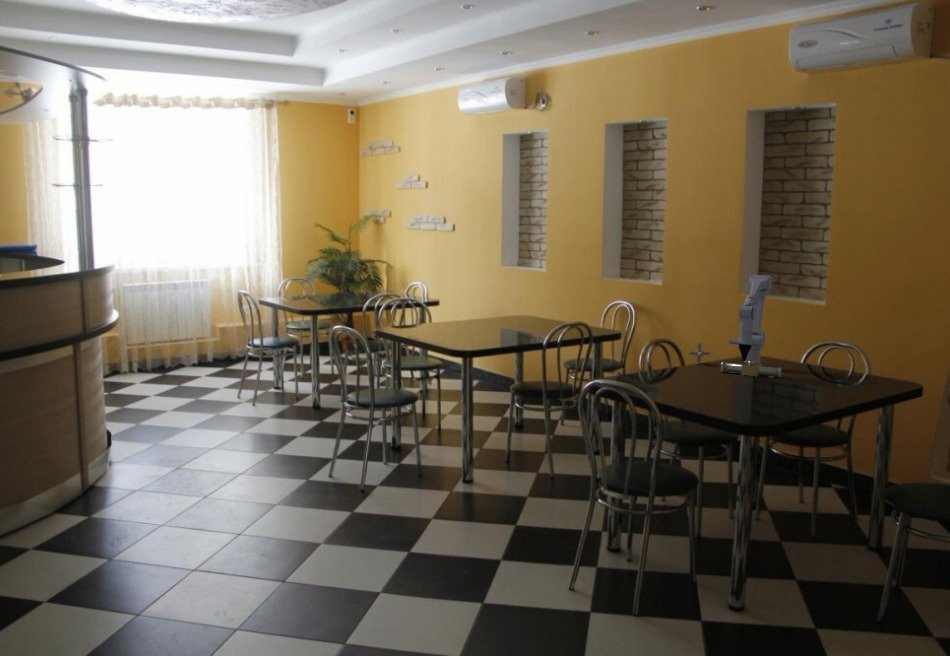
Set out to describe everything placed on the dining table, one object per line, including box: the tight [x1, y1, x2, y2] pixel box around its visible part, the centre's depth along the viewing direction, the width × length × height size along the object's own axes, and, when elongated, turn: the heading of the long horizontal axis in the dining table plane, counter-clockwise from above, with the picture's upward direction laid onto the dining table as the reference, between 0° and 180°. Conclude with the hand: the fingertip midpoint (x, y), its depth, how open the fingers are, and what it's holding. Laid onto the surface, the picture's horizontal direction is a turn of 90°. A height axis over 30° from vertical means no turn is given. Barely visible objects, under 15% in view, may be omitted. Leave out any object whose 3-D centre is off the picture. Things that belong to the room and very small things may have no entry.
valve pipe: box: [720, 361, 783, 379], centre depth 388 cm, size 6×26×5 cm, turn 63°
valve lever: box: [748, 357, 758, 364], centre depth 392 cm, size 14×3×1 cm, turn 153°
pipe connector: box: [687, 342, 711, 364], centre depth 413 cm, size 10×10×10 cm
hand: (744, 360), depth 395 cm, fingers closed
